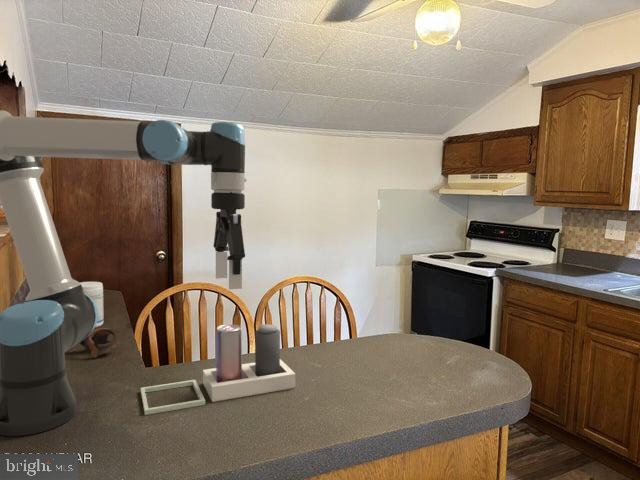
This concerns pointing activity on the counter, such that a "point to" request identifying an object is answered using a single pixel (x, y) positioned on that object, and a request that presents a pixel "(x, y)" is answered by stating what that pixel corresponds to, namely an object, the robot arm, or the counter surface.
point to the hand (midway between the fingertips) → (228, 283)
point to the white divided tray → (248, 383)
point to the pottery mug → (100, 341)
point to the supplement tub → (95, 297)
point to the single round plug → (267, 350)
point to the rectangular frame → (172, 406)
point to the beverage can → (228, 353)
